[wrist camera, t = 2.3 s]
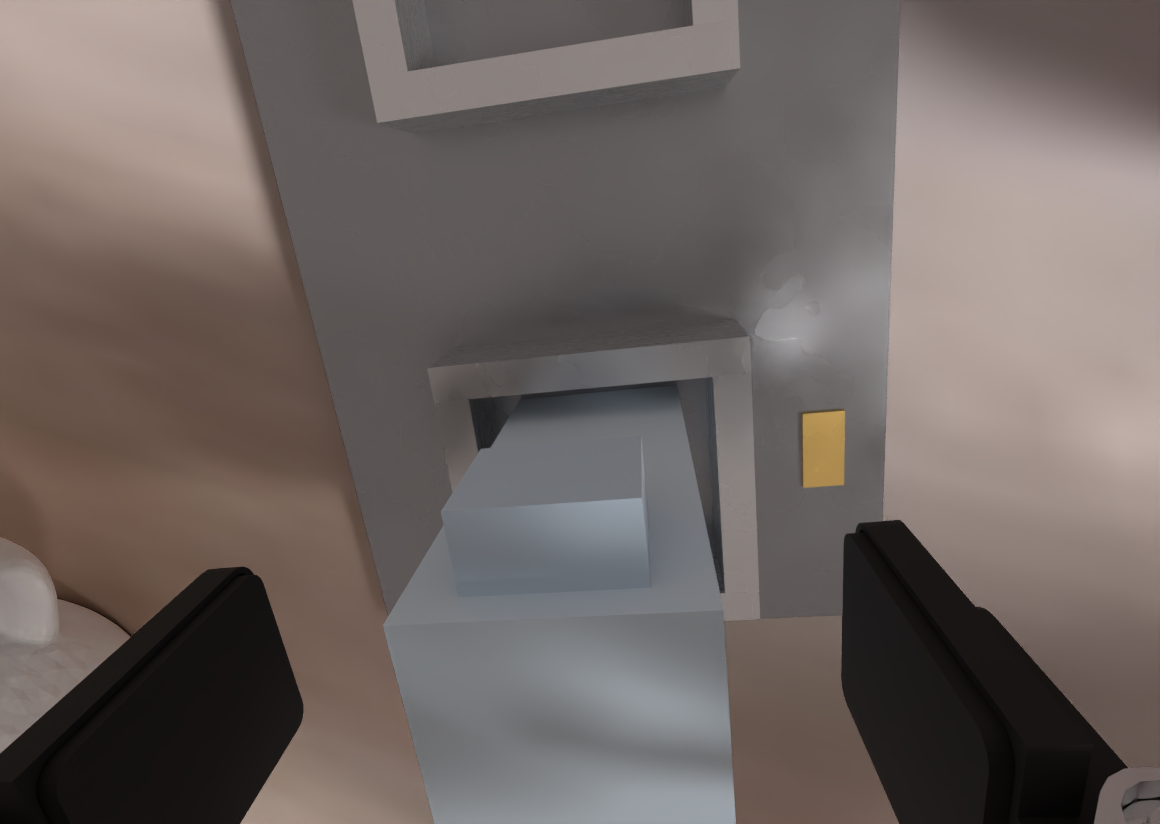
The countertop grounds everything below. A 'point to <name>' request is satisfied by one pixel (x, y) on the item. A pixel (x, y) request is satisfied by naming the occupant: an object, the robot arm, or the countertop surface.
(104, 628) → the mug
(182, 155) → the countertop surface
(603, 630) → the plug
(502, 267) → the panel
